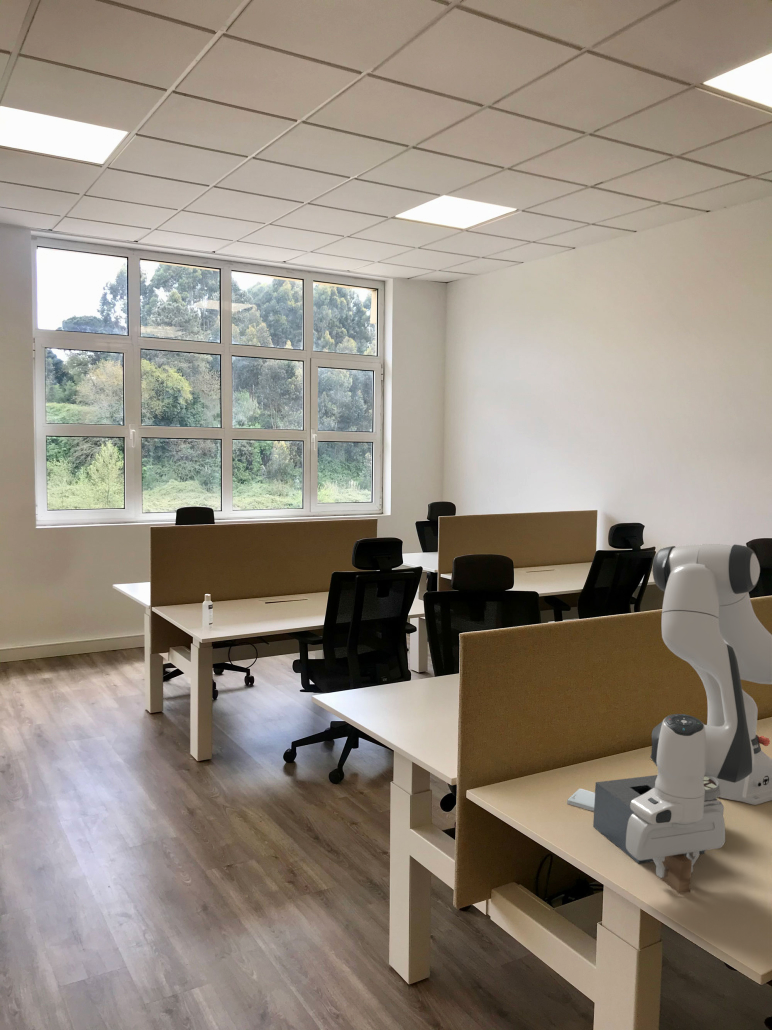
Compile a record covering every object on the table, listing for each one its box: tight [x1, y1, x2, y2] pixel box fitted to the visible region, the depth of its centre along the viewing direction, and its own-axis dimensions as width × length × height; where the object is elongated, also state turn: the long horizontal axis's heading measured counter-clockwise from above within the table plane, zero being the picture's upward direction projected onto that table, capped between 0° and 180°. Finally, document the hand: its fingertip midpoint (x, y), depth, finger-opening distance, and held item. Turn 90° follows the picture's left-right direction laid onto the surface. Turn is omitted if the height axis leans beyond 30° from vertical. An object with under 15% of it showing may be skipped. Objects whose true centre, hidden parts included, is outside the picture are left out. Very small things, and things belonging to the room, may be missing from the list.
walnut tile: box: [657, 854, 692, 894], centre depth 149 cm, size 2×6×6 cm, turn 18°
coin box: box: [592, 774, 706, 865], centre depth 166 cm, size 16×16×10 cm
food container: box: [703, 775, 721, 800], centre depth 173 cm, size 12×6×10 cm, turn 148°
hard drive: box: [566, 788, 595, 812], centre depth 183 cm, size 2×8×12 cm
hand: (674, 873), depth 149 cm, fingers open, 4 cm apart
